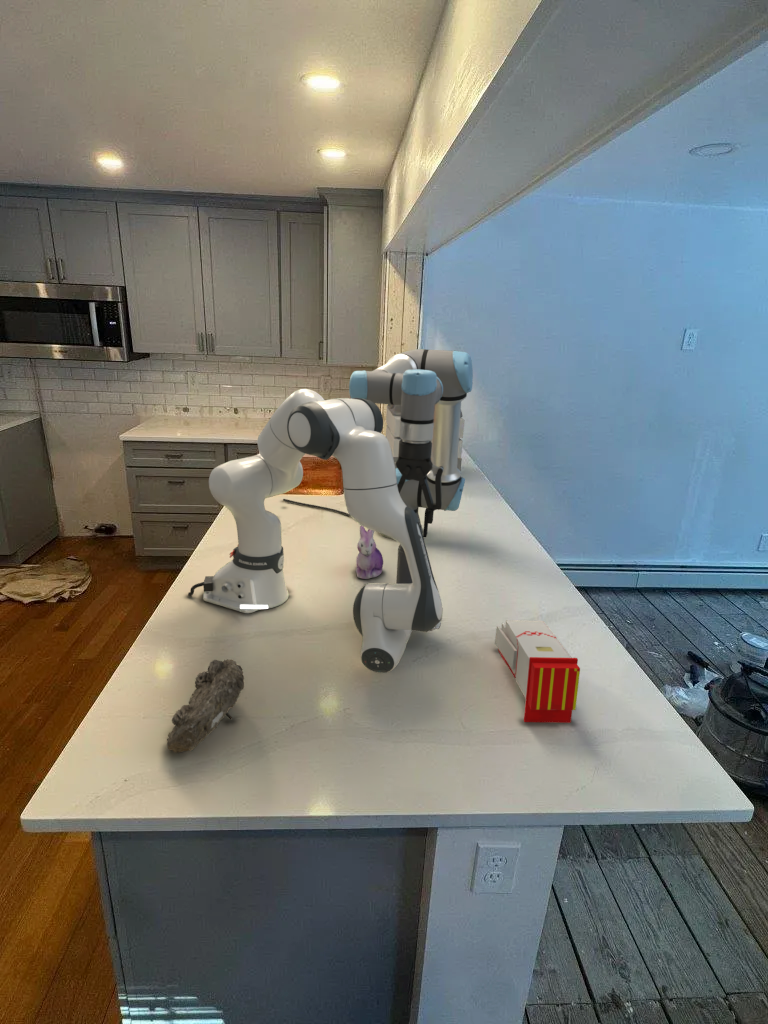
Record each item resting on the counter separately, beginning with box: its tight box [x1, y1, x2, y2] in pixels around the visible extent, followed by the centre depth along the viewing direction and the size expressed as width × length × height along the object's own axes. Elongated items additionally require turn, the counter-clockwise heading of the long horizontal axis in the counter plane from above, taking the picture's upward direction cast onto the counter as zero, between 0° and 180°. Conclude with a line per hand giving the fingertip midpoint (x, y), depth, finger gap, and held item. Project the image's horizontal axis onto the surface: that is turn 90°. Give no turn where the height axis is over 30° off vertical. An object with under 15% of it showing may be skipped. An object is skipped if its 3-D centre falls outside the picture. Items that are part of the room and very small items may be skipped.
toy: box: [494, 619, 581, 724], centre depth 121 cm, size 12×13×30 cm
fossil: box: [166, 658, 245, 754], centre depth 106 cm, size 22×10×15 cm
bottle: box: [395, 544, 413, 584], centre depth 140 cm, size 5×5×25 cm
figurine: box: [355, 525, 384, 580], centre depth 167 cm, size 9×10×15 cm
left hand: (406, 596), depth 143 cm, fingers closed on bottle, 5 cm apart
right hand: (409, 533), depth 137 cm, fingers open, 7 cm apart
